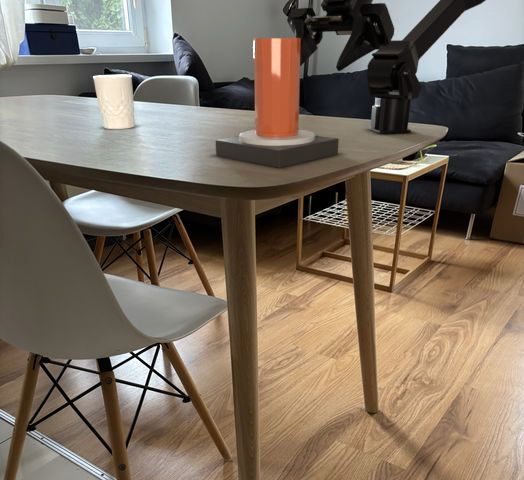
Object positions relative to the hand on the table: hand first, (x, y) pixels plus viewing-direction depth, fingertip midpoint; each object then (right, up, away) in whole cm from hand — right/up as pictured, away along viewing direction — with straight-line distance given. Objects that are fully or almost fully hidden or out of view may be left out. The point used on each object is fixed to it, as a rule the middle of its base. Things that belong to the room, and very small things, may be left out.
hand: (315, 68), depth 84 cm
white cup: (-40, +3, +29) cm, 50 cm away
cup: (-6, -12, -3) cm, 14 cm away
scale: (-6, -15, -1) cm, 16 cm away
